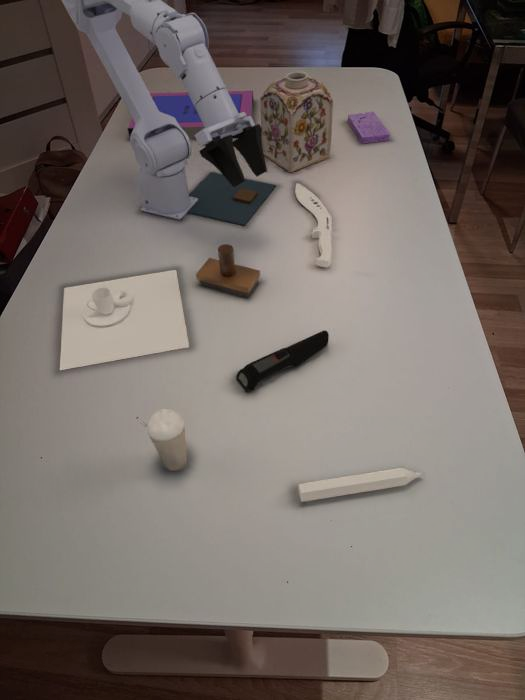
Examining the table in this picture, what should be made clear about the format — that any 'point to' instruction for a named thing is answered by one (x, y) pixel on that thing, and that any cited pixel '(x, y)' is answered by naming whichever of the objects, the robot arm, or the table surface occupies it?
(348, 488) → the white pencil
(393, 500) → the table surface
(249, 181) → the mat
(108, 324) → the teacup and saucer
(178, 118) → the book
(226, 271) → the brush
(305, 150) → the decorative jar
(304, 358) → the electric trimmer
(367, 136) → the sponge
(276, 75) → the table surface
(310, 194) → the knife
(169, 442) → the milkshake
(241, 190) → the grime chip
